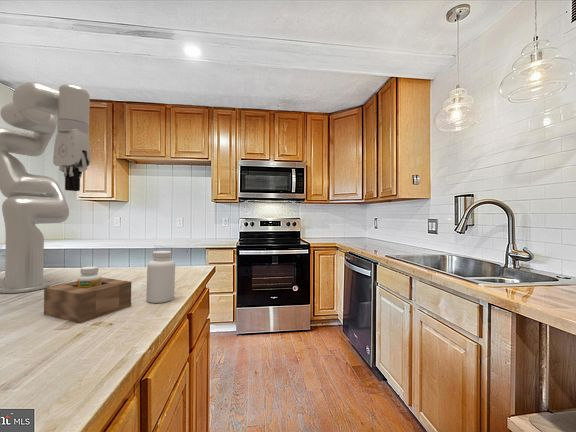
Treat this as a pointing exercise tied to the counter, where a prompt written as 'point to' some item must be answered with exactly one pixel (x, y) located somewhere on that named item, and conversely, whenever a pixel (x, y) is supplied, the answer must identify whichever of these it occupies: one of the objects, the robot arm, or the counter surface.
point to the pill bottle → (160, 278)
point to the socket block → (86, 300)
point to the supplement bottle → (89, 277)
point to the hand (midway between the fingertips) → (72, 190)
